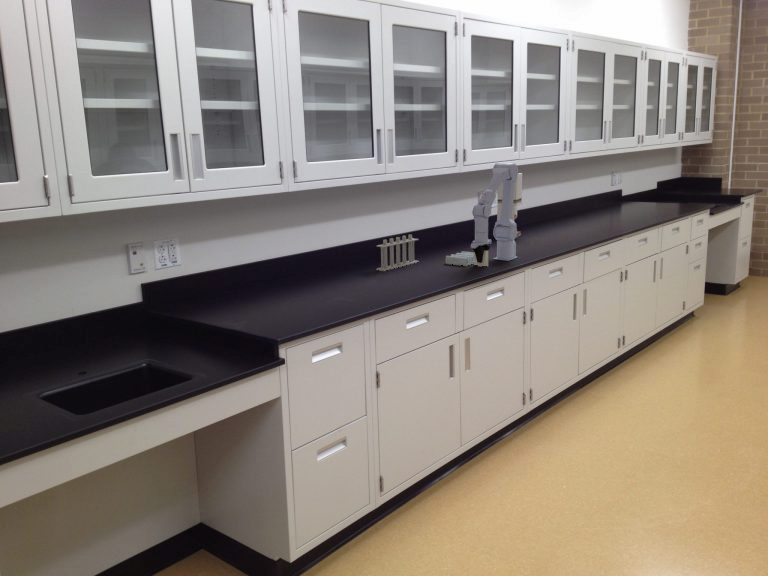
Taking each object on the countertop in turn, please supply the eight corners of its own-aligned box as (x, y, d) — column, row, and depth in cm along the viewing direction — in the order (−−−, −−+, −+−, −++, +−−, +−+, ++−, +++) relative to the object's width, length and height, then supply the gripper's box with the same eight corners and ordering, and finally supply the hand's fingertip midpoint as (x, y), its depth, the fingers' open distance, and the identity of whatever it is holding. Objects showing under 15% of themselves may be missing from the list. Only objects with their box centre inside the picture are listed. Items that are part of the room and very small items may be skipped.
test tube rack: (411, 261, 313) (411, 233, 310) (419, 262, 310) (418, 234, 307) (376, 270, 294) (375, 240, 291) (384, 271, 292) (383, 241, 289)
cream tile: (476, 264, 301) (476, 249, 300) (488, 266, 298) (488, 250, 296) (474, 265, 300) (474, 250, 298) (485, 266, 296) (486, 251, 295)
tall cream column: (515, 238, 373) (516, 174, 365) (496, 237, 378) (497, 174, 370) (520, 235, 383) (522, 173, 375) (502, 234, 388) (503, 172, 380)
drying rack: (462, 258, 316) (462, 251, 315) (482, 261, 310) (482, 253, 309) (445, 263, 305) (445, 256, 304) (466, 266, 299) (466, 258, 298)
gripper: (481, 229, 303) (481, 258, 306) (465, 233, 292) (464, 263, 295) (495, 230, 299) (495, 260, 302) (479, 234, 288) (478, 265, 291)
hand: (481, 262), depth 298 cm, fingers closed on cream tile, 2 cm apart
